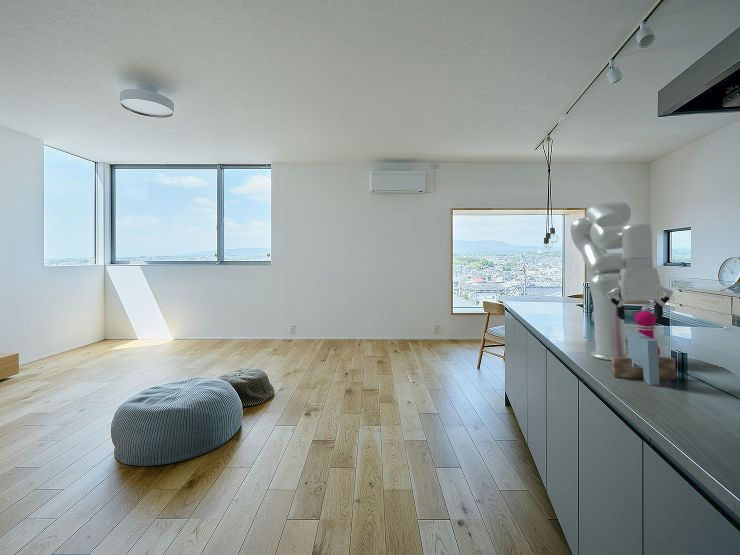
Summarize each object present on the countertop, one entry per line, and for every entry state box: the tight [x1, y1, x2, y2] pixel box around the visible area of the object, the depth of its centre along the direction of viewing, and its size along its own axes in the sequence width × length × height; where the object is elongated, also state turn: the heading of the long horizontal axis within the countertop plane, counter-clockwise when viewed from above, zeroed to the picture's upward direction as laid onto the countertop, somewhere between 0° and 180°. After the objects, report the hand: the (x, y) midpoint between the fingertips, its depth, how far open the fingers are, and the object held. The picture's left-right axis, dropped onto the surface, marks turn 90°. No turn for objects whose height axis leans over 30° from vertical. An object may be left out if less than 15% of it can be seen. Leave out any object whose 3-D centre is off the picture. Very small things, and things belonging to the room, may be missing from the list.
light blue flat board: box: [626, 330, 661, 386], centre depth 113 cm, size 16×2×13 cm, turn 162°
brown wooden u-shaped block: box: [610, 356, 677, 380], centre depth 113 cm, size 16×2×6 cm, turn 73°
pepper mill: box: [634, 306, 661, 357], centre depth 126 cm, size 7×7×20 cm
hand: (639, 318), depth 113 cm, fingers open, 9 cm apart
